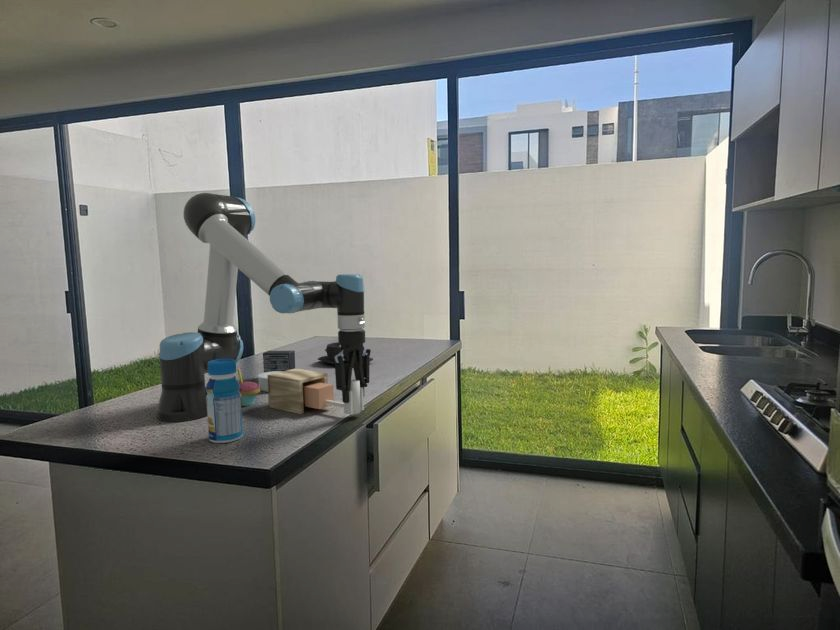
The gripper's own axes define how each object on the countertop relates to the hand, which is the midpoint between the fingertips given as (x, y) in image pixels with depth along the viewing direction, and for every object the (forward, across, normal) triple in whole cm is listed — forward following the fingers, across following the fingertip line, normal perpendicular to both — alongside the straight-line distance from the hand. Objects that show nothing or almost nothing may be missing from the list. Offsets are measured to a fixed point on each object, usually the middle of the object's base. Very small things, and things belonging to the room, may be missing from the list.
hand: (354, 411), depth 155 cm
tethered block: (0, 0, +7) cm, 7 cm away
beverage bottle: (+2, -31, +16) cm, 35 cm away
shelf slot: (+2, 0, +23) cm, 23 cm away
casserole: (+2, +58, +56) cm, 81 cm away
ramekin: (+2, +11, +47) cm, 48 cm away
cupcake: (+2, -7, +39) cm, 39 cm away
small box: (+2, +23, +58) cm, 62 cm away
